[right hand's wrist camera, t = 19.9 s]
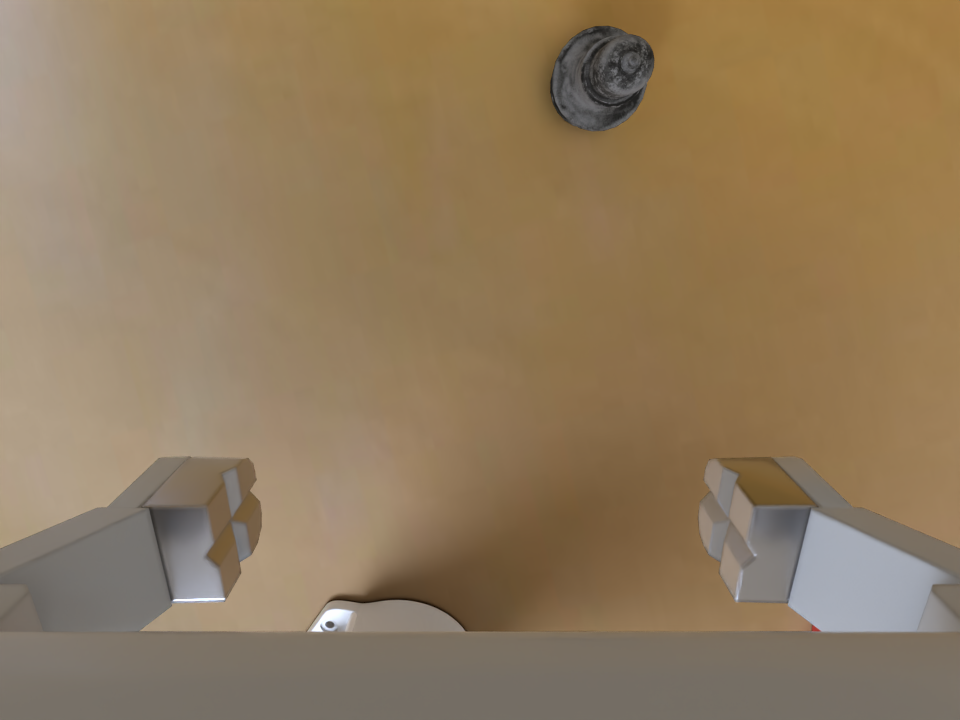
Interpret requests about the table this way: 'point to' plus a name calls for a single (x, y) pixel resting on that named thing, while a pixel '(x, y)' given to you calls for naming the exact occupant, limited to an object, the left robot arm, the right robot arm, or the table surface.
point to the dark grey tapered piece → (601, 77)
